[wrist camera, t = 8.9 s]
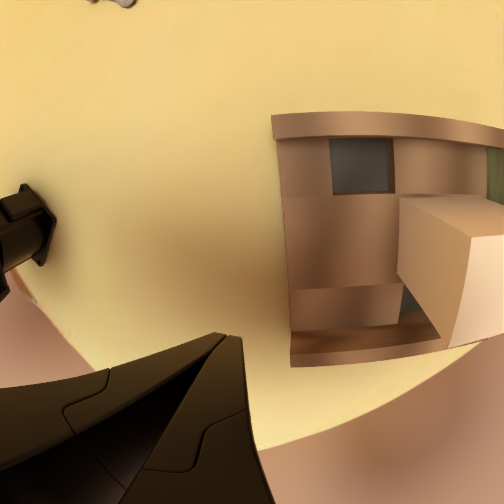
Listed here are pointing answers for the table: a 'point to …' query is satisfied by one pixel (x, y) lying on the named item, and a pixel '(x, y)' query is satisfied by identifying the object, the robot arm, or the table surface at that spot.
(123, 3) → the stone
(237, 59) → the table surface
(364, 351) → the tray
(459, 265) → the cream block
